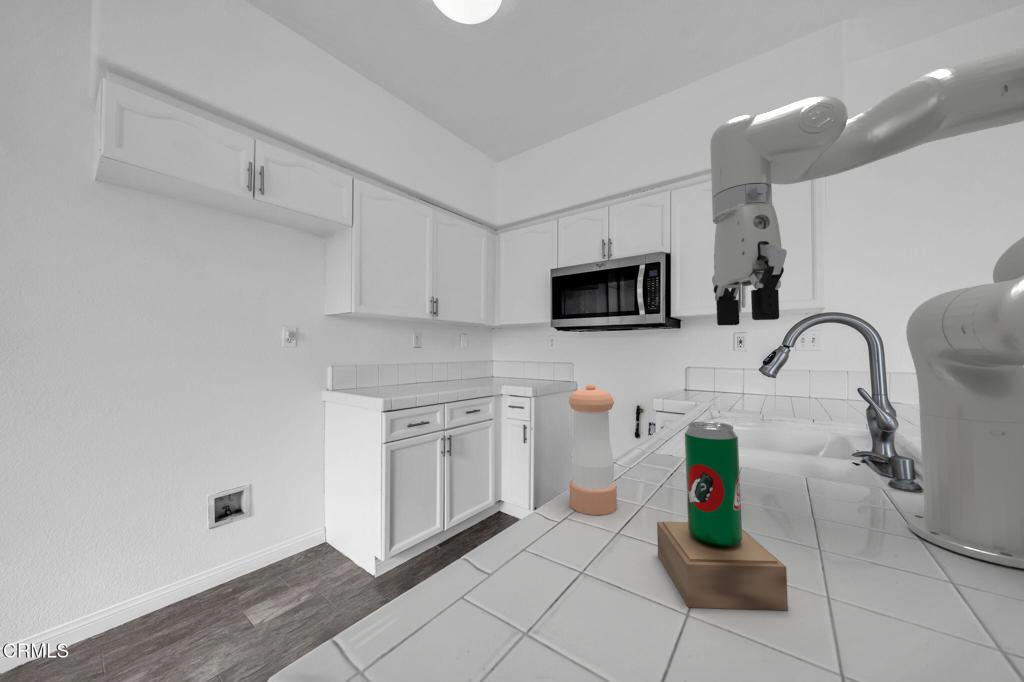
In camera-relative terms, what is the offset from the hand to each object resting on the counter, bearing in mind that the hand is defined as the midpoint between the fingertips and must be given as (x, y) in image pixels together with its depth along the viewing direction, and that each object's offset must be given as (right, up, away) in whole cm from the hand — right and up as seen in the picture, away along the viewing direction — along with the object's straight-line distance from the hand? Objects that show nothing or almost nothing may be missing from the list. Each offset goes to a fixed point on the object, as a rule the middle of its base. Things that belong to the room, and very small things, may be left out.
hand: (745, 322), depth 55 cm
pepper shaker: (-21, -29, +5) cm, 36 cm away
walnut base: (-13, -28, -15) cm, 34 cm away
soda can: (-13, -24, -15) cm, 31 cm away
